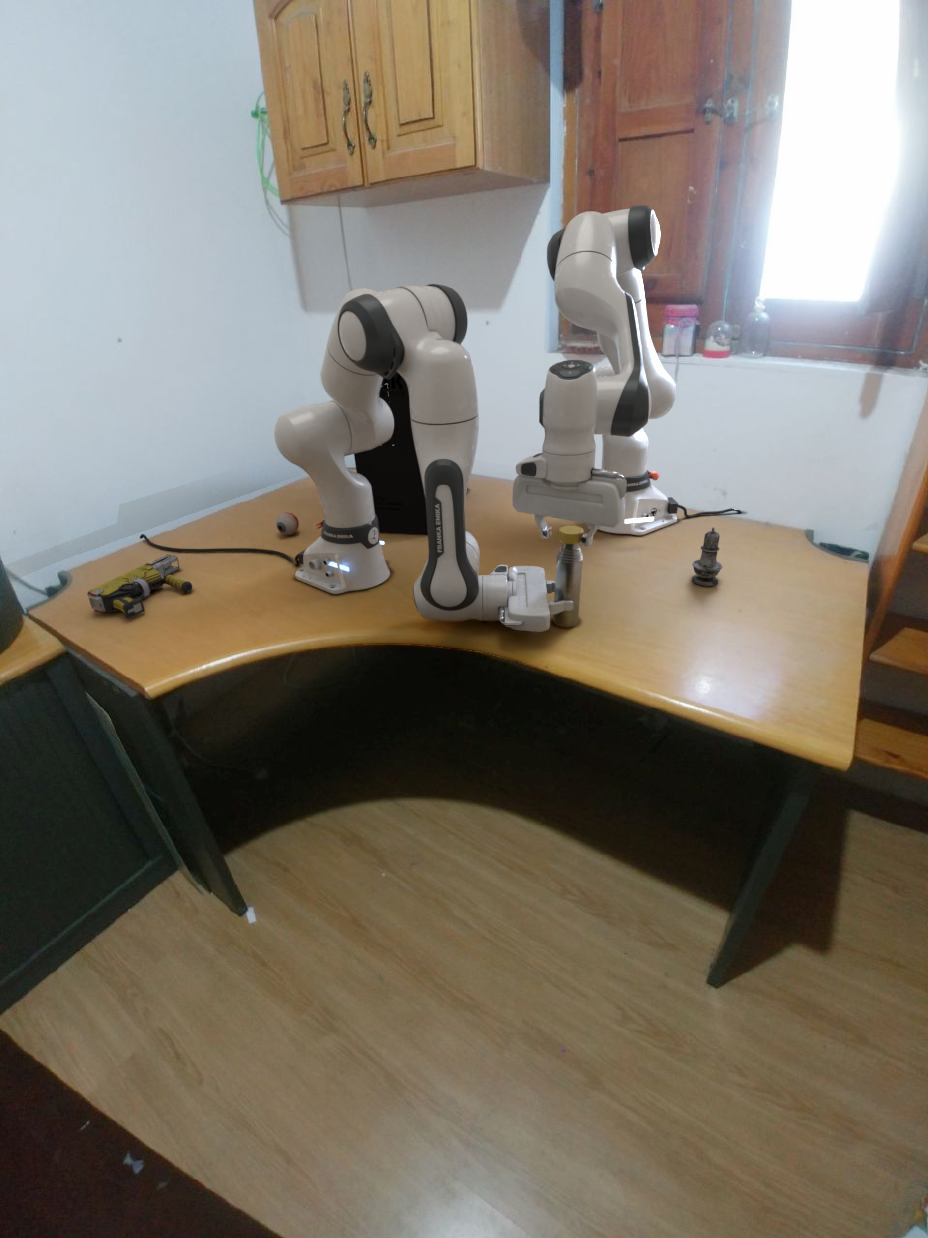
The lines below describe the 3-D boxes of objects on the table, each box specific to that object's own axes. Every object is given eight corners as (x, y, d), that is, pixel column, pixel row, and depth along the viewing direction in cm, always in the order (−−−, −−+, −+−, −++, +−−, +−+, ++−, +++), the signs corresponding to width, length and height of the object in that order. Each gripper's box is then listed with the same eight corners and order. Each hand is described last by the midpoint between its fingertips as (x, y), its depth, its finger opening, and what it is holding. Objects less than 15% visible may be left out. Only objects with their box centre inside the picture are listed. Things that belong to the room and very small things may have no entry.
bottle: (557, 613, 120) (561, 527, 111) (580, 617, 118) (587, 531, 109) (550, 624, 116) (554, 537, 107) (574, 629, 115) (580, 540, 106)
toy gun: (216, 562, 143) (165, 551, 147) (137, 606, 123) (80, 592, 127) (219, 580, 145) (169, 569, 149) (142, 626, 125) (86, 611, 129)
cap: (554, 537, 110) (554, 527, 109) (574, 533, 111) (574, 523, 110) (567, 545, 106) (568, 536, 105) (587, 541, 108) (588, 531, 107)
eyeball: (273, 537, 164) (268, 516, 161) (287, 528, 169) (282, 508, 166) (291, 539, 161) (286, 518, 158) (305, 530, 166) (301, 510, 163)
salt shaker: (721, 586, 126) (731, 533, 120) (692, 585, 127) (700, 532, 121) (717, 574, 131) (726, 522, 125) (688, 573, 132) (696, 521, 126)
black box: (436, 534, 159) (422, 349, 137) (364, 531, 164) (339, 351, 141) (468, 489, 191) (460, 332, 168) (407, 487, 195) (391, 335, 173)
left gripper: (497, 610, 105) (577, 608, 104) (499, 560, 123) (567, 559, 122) (498, 640, 108) (576, 639, 107) (499, 588, 126) (566, 587, 125)
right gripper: (634, 467, 99) (627, 544, 106) (524, 454, 110) (525, 526, 116) (620, 477, 95) (614, 558, 102) (507, 463, 105) (508, 537, 112)
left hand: (571, 596), depth 115 cm, fingers closed on bottle, 5 cm apart
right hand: (565, 541), depth 109 cm, fingers open, 7 cm apart
